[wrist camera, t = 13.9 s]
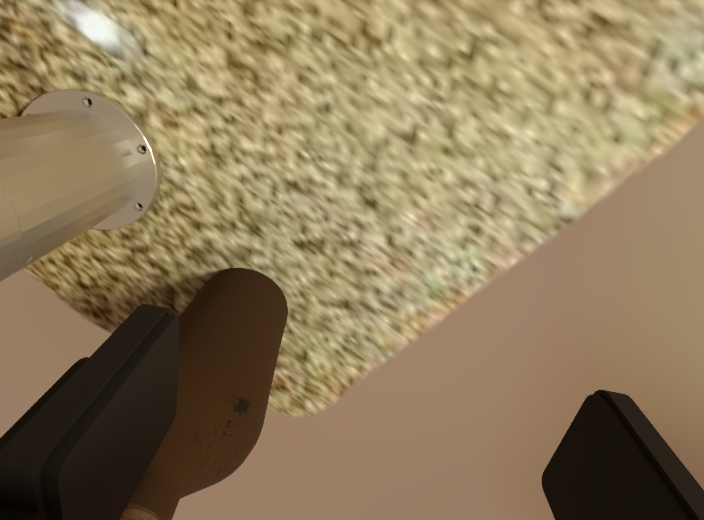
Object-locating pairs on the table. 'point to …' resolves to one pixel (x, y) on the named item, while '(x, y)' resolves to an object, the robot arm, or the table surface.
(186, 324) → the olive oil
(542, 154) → the table surface
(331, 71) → the table surface
